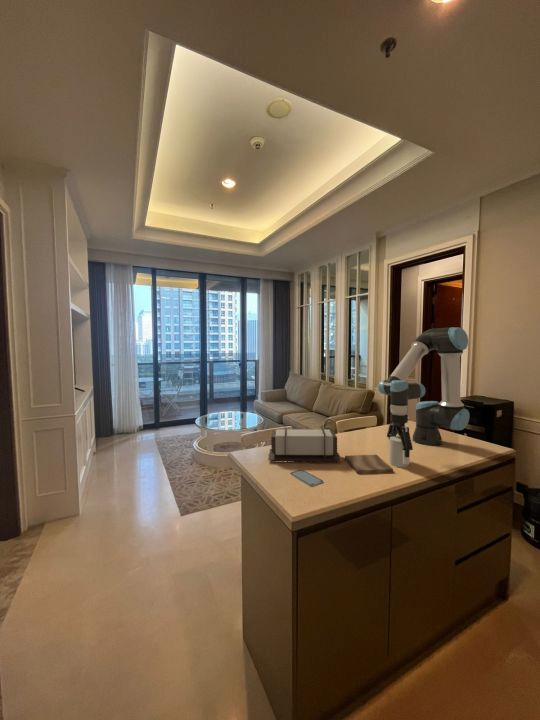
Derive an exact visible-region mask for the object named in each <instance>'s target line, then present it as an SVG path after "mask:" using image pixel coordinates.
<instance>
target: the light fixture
mask: <svg viewBox="0 0 540 720" xmlns="http://www.w3.org/2000/svg"><path fill="white" fill-rule="evenodd" d="M271 432H272V433H271V440H270V441H271V442H270V443H271V446H270V447H271V448H270V449H269V454H268V461H271V462H272V461H287V462H286V463H289V462H288V461H294V462H293V463H324V464H325V463H329V464H330V463H331V464H333V463H337V464H338V461H339V462H341V461H342V458H341V457H340V455H339V452H338V437H337V435H336V433H335V431H332V430H330V429H323V425H321V426H320V429H295V428H294V429H292V428H291V429H287V428H286V427H284V429H282V428H281V429H275V430H272V431H271Z"/></svg>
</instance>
